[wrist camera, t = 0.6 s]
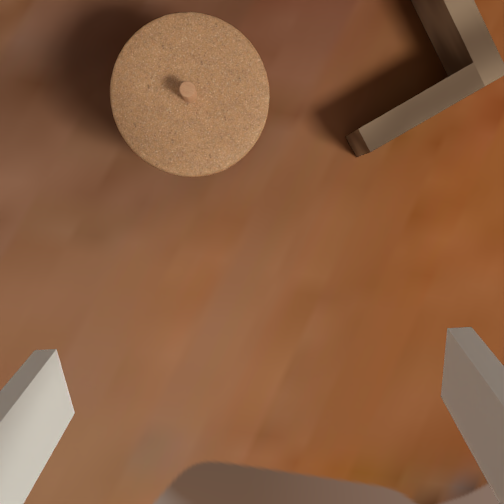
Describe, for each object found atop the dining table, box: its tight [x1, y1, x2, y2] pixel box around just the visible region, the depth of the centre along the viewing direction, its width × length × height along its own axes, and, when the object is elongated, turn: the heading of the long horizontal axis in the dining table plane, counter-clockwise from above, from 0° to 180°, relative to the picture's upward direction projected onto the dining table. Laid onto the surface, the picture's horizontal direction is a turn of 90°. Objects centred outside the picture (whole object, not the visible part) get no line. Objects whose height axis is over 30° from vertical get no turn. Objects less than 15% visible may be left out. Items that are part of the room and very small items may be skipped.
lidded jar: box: [110, 12, 270, 177], centre depth 33 cm, size 11×11×9 cm
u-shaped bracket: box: [346, 0, 504, 157], centre depth 35 cm, size 19×12×4 cm, turn 30°
